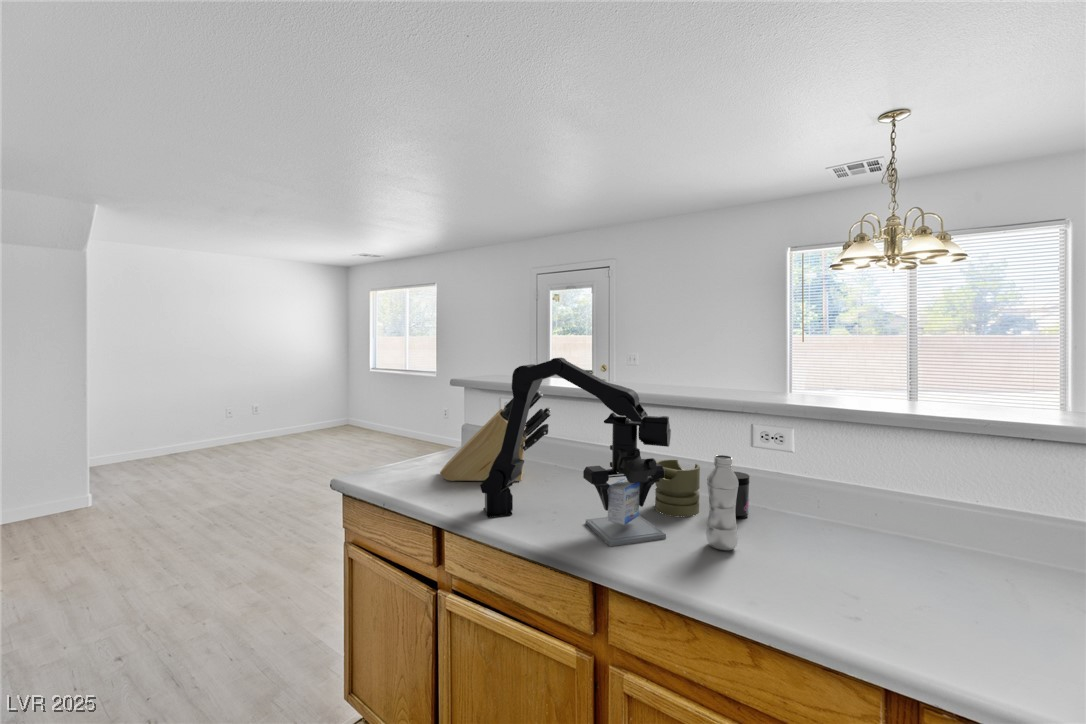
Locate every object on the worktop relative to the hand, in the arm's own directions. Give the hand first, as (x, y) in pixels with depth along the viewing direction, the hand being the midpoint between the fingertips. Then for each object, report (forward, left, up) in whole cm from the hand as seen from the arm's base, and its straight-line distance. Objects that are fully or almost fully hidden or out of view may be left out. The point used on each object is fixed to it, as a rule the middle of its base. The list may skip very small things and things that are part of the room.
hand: (623, 508), depth 119 cm
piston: (+20, +9, -6) cm, 23 cm away
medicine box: (0, 0, -3) cm, 3 cm away
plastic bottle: (+16, -15, -6) cm, 23 cm away
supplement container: (+32, +1, -6) cm, 33 cm away
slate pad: (0, 0, -5) cm, 5 cm away
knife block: (-19, +53, -6) cm, 57 cm away
